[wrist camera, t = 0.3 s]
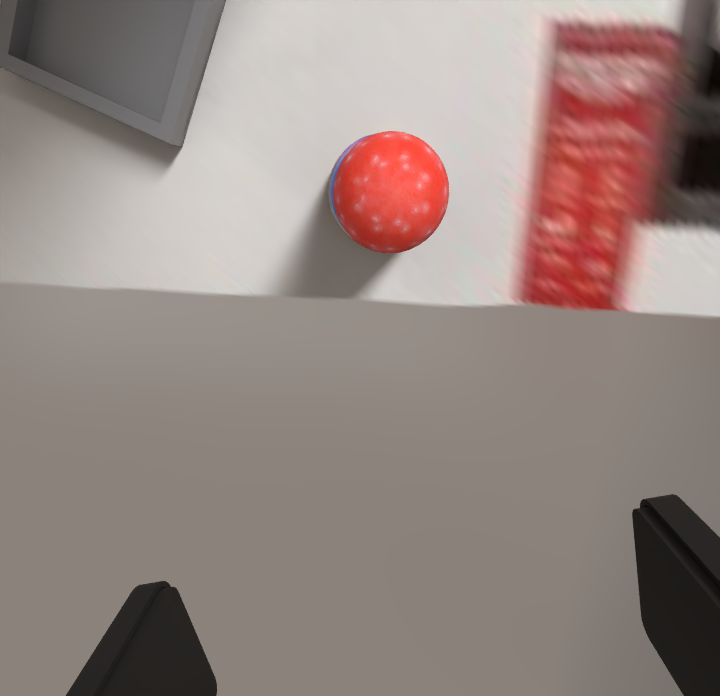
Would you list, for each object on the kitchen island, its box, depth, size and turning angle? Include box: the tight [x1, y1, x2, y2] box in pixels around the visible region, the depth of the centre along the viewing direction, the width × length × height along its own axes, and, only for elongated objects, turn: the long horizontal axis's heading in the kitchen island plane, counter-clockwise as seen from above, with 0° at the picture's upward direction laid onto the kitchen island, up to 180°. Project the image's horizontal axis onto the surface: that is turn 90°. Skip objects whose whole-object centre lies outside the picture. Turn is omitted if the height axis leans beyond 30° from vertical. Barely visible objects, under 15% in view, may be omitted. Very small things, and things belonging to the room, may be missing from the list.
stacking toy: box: [328, 131, 449, 253], centre depth 28 cm, size 8×8×19 cm
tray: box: [0, 0, 226, 147], centre depth 33 cm, size 13×13×2 cm
